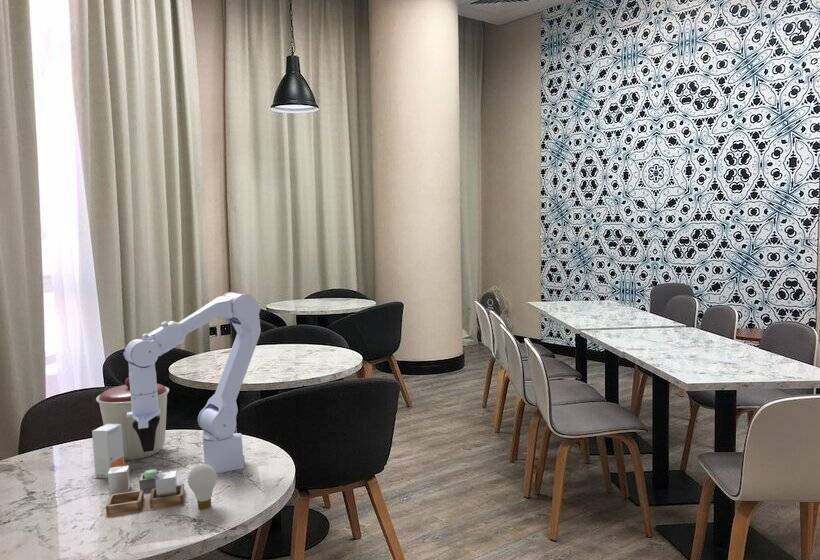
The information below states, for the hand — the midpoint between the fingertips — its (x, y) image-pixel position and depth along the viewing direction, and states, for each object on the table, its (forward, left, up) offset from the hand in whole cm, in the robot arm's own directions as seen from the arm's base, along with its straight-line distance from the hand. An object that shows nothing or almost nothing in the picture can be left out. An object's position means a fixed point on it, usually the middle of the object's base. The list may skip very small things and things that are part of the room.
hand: (148, 450), depth 155 cm
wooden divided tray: (0, +10, -9) cm, 14 cm away
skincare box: (+11, -15, -10) cm, 21 cm away
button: (0, 0, -9) cm, 9 cm away
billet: (+7, 0, -9) cm, 11 cm away
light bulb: (-12, +17, -10) cm, 23 cm away
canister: (+6, -29, -10) cm, 31 cm away
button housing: (0, 0, -9) cm, 9 cm away
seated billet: (-4, +10, -8) cm, 14 cm away
